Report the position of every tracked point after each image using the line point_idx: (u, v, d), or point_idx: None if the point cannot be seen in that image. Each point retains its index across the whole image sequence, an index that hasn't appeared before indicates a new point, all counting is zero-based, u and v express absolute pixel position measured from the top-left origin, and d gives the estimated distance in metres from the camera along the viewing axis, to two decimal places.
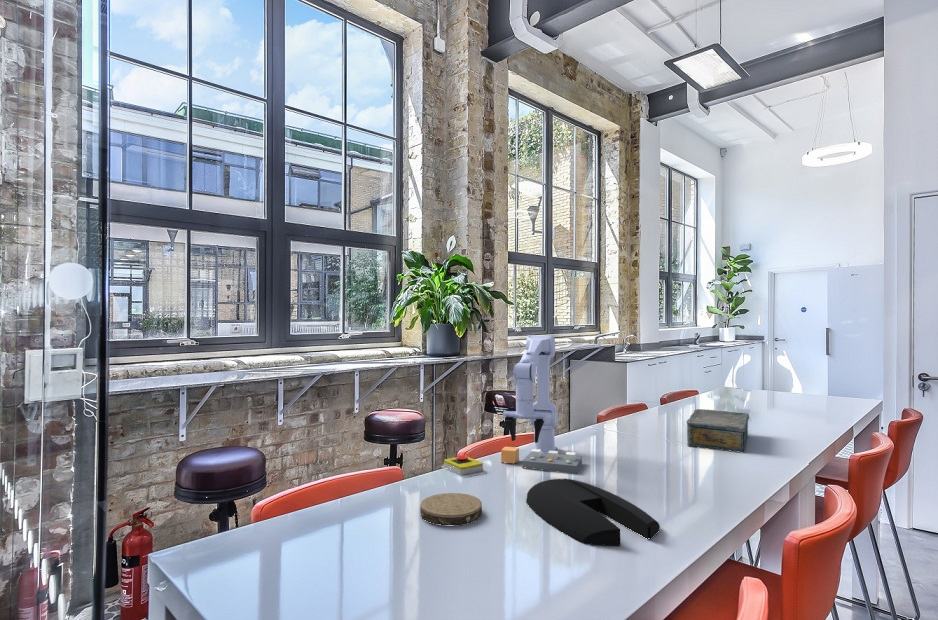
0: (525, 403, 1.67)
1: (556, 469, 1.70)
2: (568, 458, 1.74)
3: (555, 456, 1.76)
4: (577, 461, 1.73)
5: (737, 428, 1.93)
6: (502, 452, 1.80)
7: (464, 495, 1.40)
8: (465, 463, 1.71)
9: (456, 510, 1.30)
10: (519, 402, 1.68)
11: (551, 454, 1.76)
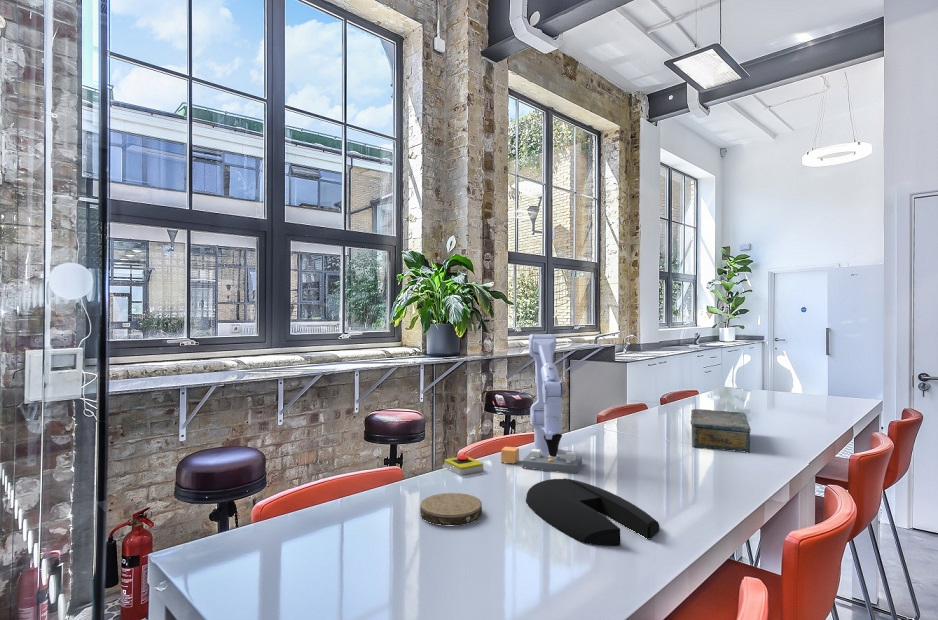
0: (544, 418, 1.78)
1: (556, 469, 1.70)
2: (568, 458, 1.74)
3: None
4: (577, 461, 1.73)
5: (743, 428, 1.92)
6: (502, 452, 1.80)
7: (464, 495, 1.40)
8: (465, 463, 1.71)
9: (456, 510, 1.30)
10: None
11: (551, 458, 1.76)
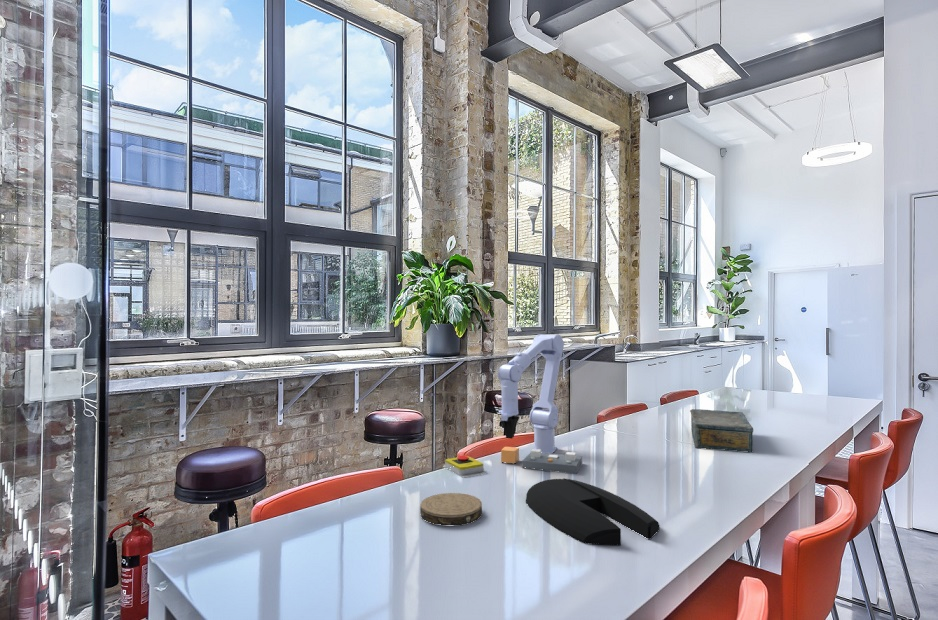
0: None
1: (556, 469, 1.70)
2: (568, 458, 1.74)
3: None
4: (577, 461, 1.73)
5: (745, 428, 1.93)
6: (502, 452, 1.80)
7: (464, 495, 1.40)
8: (466, 463, 1.71)
9: (456, 510, 1.30)
10: None
11: (551, 458, 1.76)
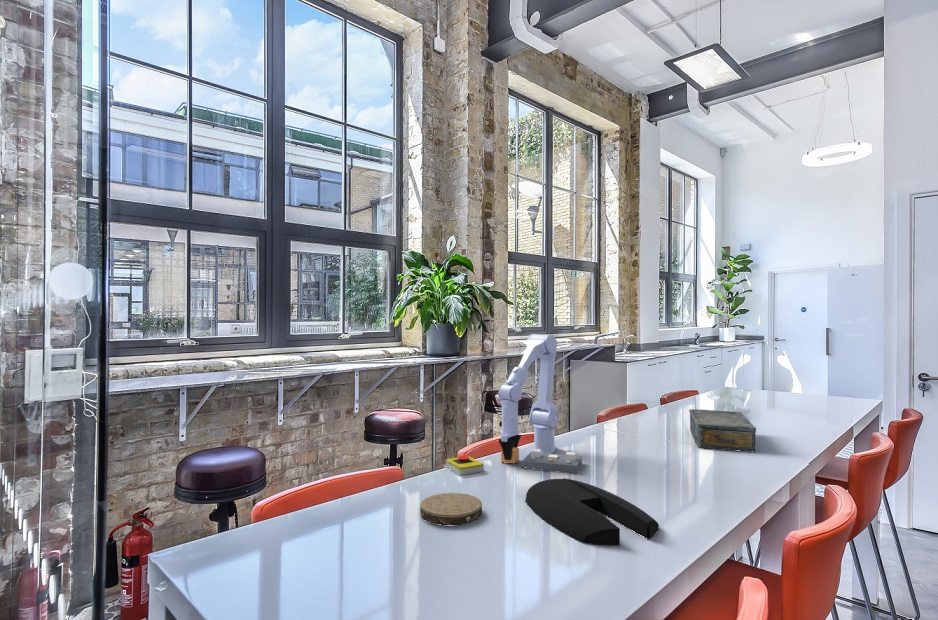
0: None
1: (556, 469, 1.70)
2: (568, 458, 1.74)
3: None
4: (577, 461, 1.73)
5: (748, 428, 1.93)
6: (502, 452, 1.80)
7: (464, 495, 1.40)
8: (466, 463, 1.71)
9: (456, 510, 1.30)
10: None
11: (551, 458, 1.76)
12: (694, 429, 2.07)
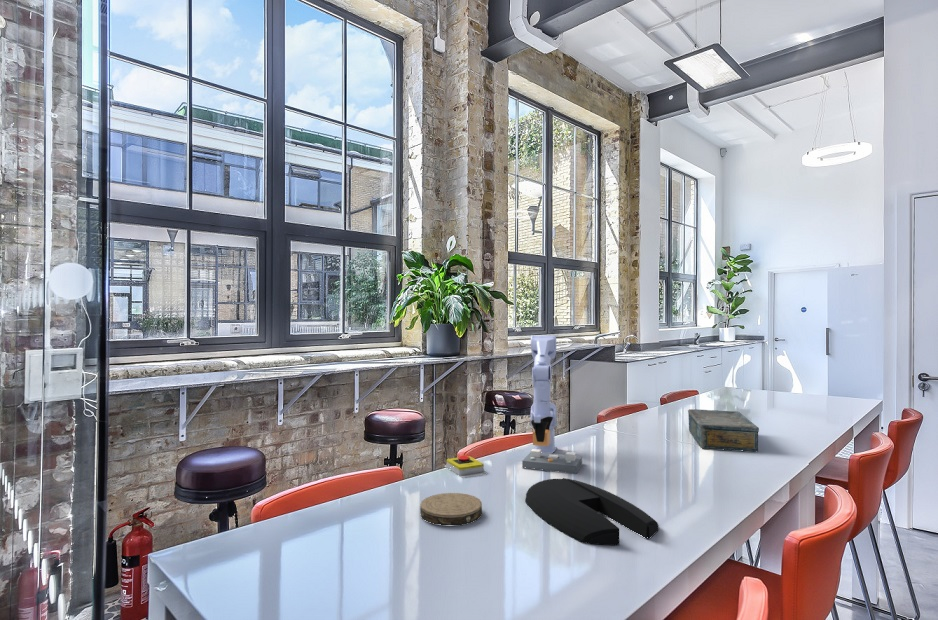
0: None
1: (556, 469, 1.70)
2: (568, 458, 1.74)
3: None
4: (577, 461, 1.73)
5: (751, 428, 1.93)
6: (534, 434, 1.77)
7: (464, 495, 1.40)
8: (466, 463, 1.71)
9: (456, 510, 1.30)
10: None
11: (551, 458, 1.76)
12: (696, 429, 2.07)
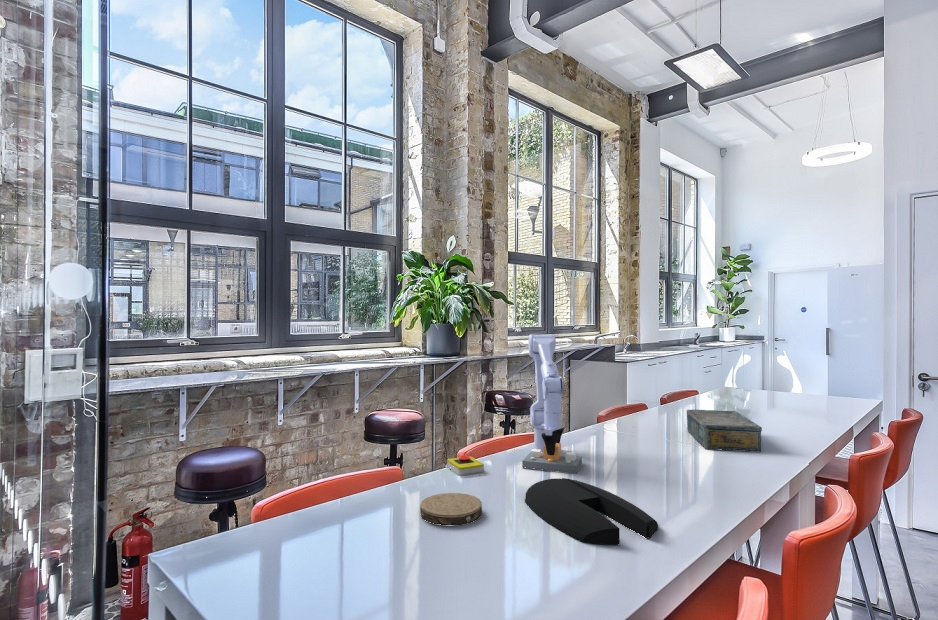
0: (544, 414, 1.78)
1: (556, 469, 1.70)
2: (568, 458, 1.74)
3: None
4: (577, 461, 1.73)
5: (754, 427, 1.93)
6: (545, 448, 1.76)
7: (464, 495, 1.40)
8: (466, 463, 1.70)
9: (456, 510, 1.30)
10: None
11: None
12: (698, 430, 2.06)
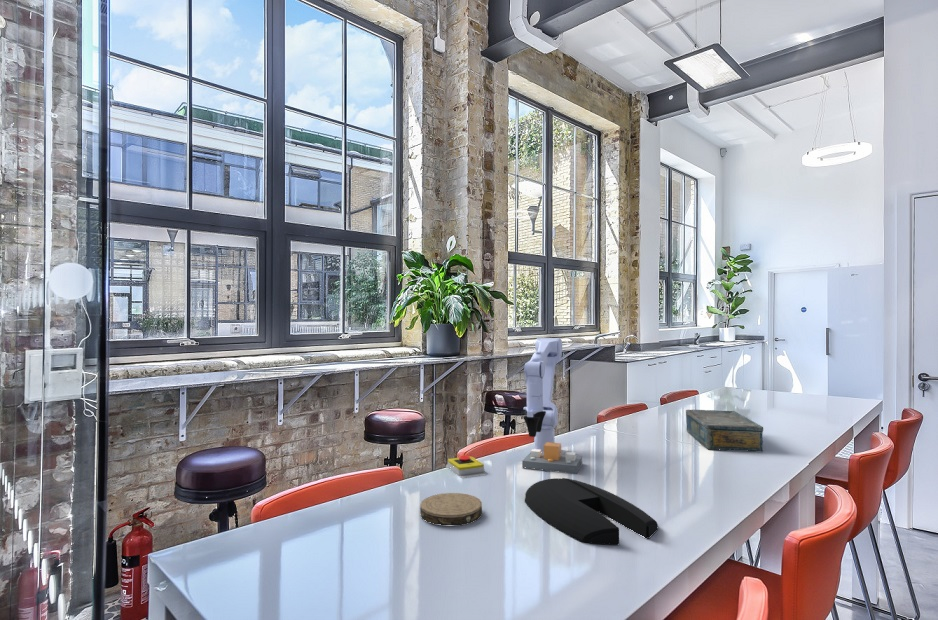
0: None
1: (556, 469, 1.70)
2: (568, 458, 1.74)
3: None
4: (577, 461, 1.73)
5: (756, 427, 1.93)
6: (545, 448, 1.76)
7: (464, 495, 1.40)
8: (466, 463, 1.70)
9: (456, 510, 1.30)
10: None
11: None
12: (699, 430, 2.06)
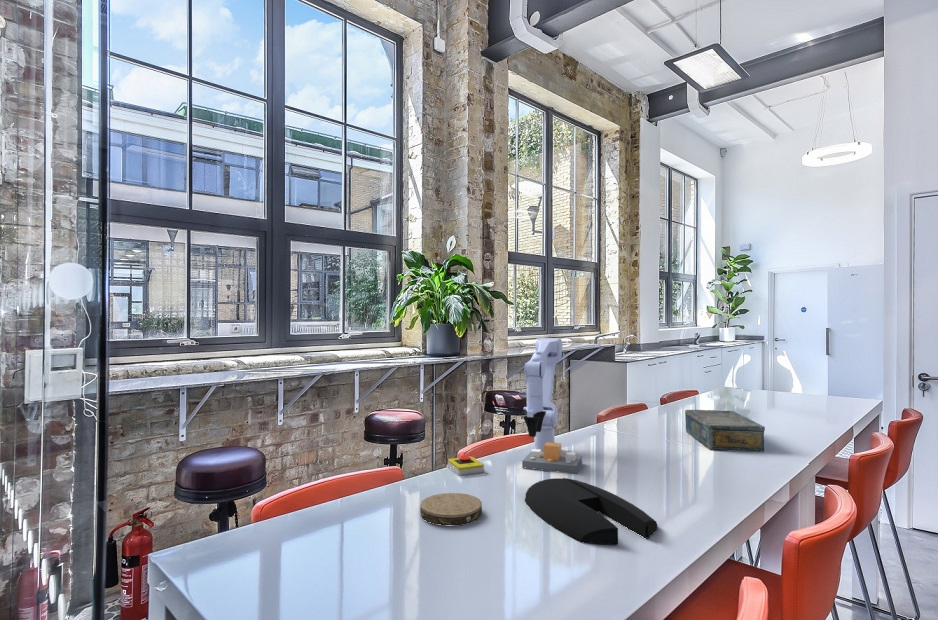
0: None
1: (556, 469, 1.70)
2: (568, 458, 1.74)
3: None
4: (577, 461, 1.73)
5: (758, 427, 1.93)
6: (545, 448, 1.76)
7: (464, 495, 1.40)
8: (466, 463, 1.70)
9: (456, 510, 1.30)
10: None
11: None
12: (700, 430, 2.05)
